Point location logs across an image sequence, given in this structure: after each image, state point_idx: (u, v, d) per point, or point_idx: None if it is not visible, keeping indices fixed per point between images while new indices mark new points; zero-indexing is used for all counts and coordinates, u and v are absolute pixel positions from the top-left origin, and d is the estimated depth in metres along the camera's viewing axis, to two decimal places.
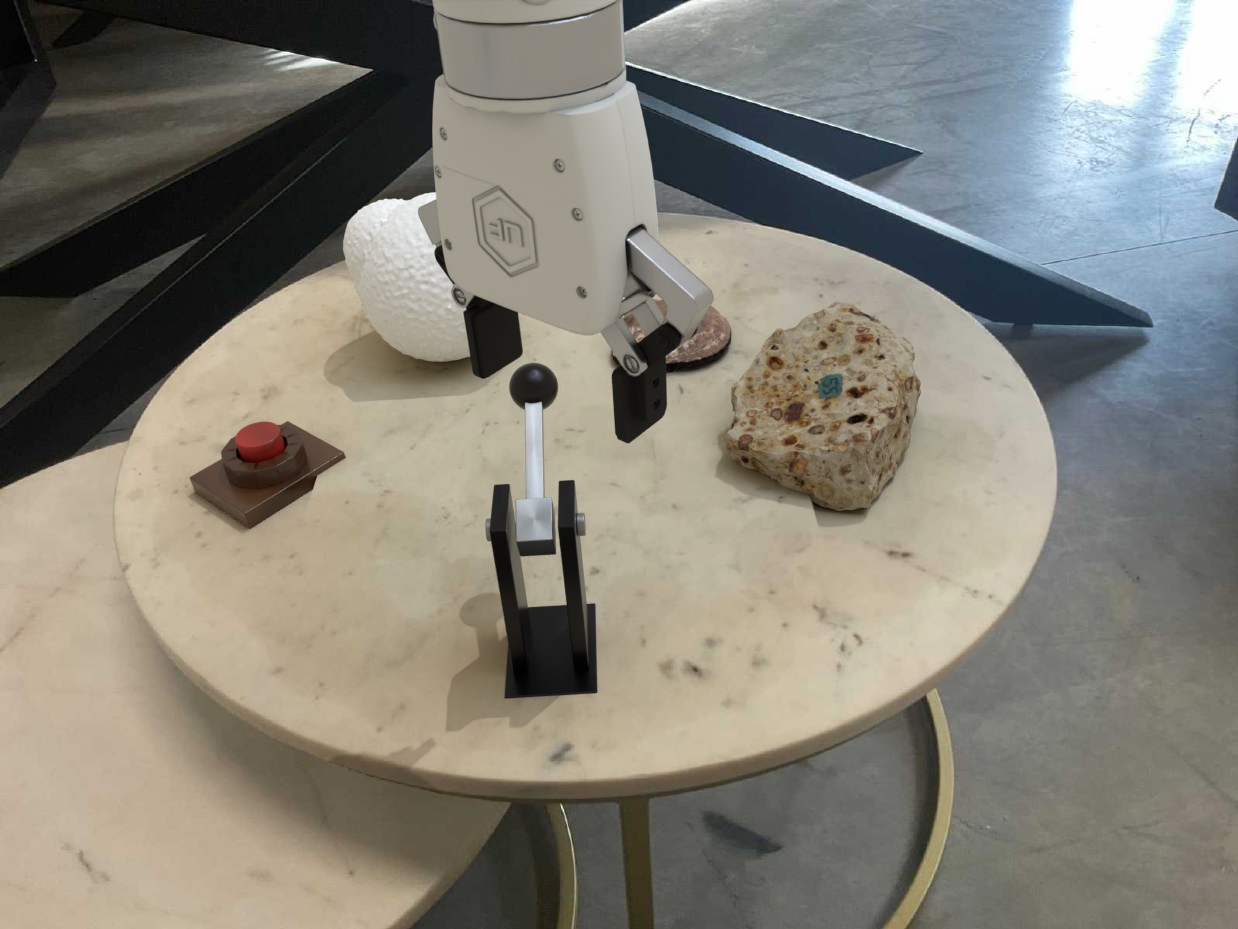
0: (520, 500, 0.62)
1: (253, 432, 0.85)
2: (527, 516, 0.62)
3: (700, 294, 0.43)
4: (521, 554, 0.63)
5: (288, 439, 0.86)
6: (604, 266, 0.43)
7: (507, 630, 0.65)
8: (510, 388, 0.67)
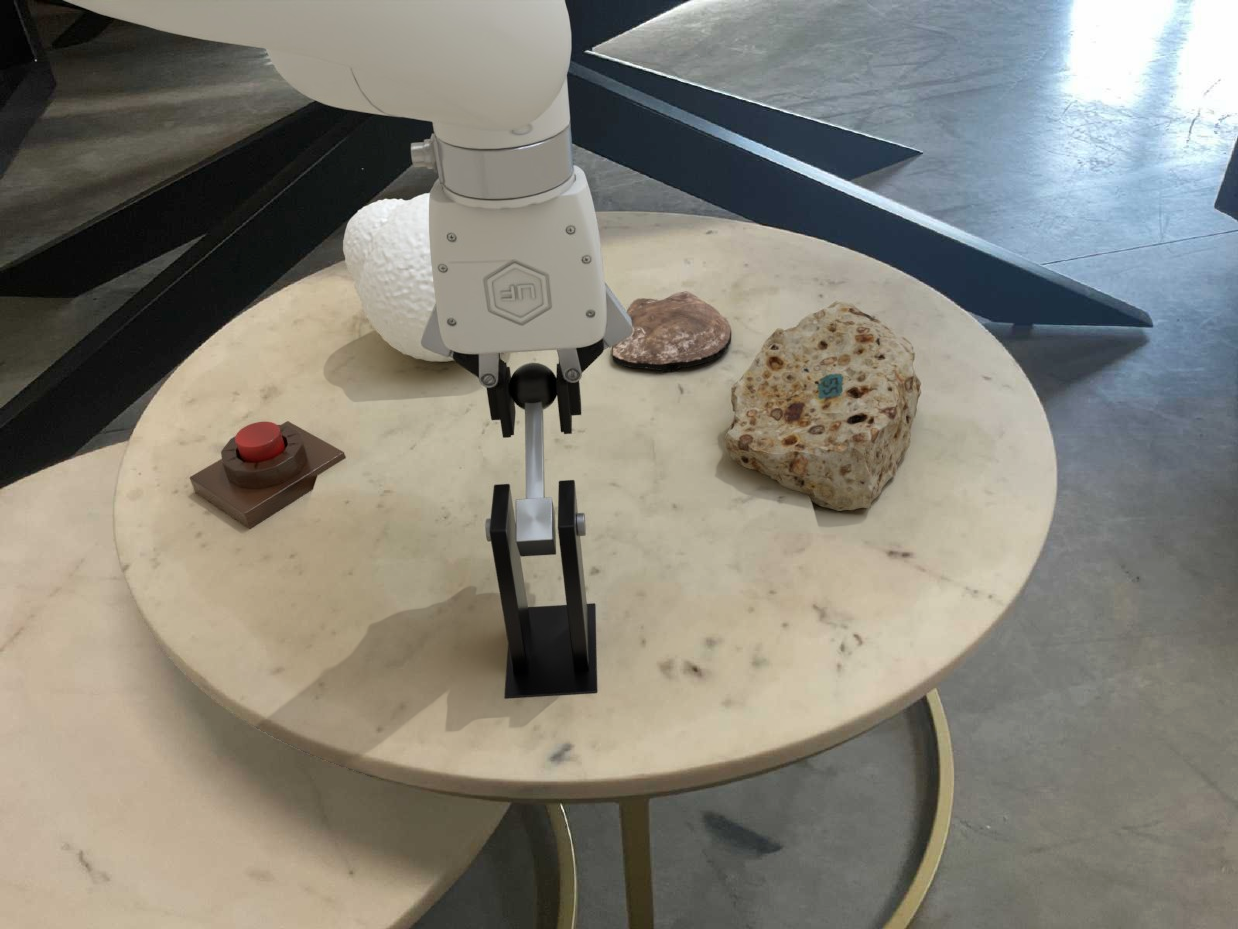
0: (520, 500, 0.62)
1: (253, 432, 0.85)
2: (527, 516, 0.62)
3: (631, 324, 0.65)
4: (521, 554, 0.63)
5: (288, 439, 0.86)
6: (603, 290, 0.61)
7: (507, 630, 0.65)
8: (510, 388, 0.67)
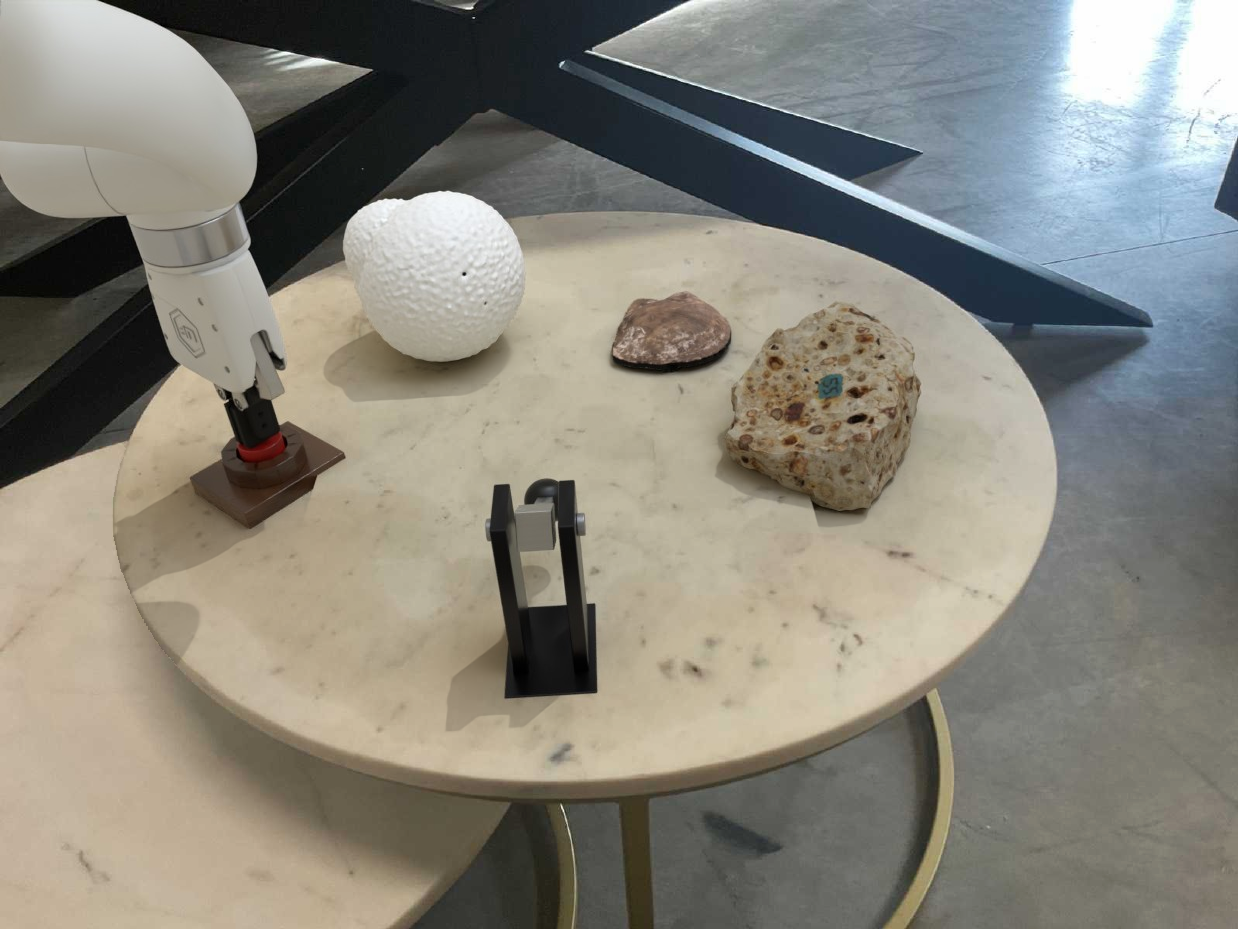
0: (523, 505, 0.64)
1: None
2: (528, 507, 0.63)
3: (277, 392, 0.78)
4: (518, 545, 0.61)
5: (288, 439, 0.86)
6: (236, 356, 0.75)
7: (507, 630, 0.65)
8: (525, 495, 0.72)
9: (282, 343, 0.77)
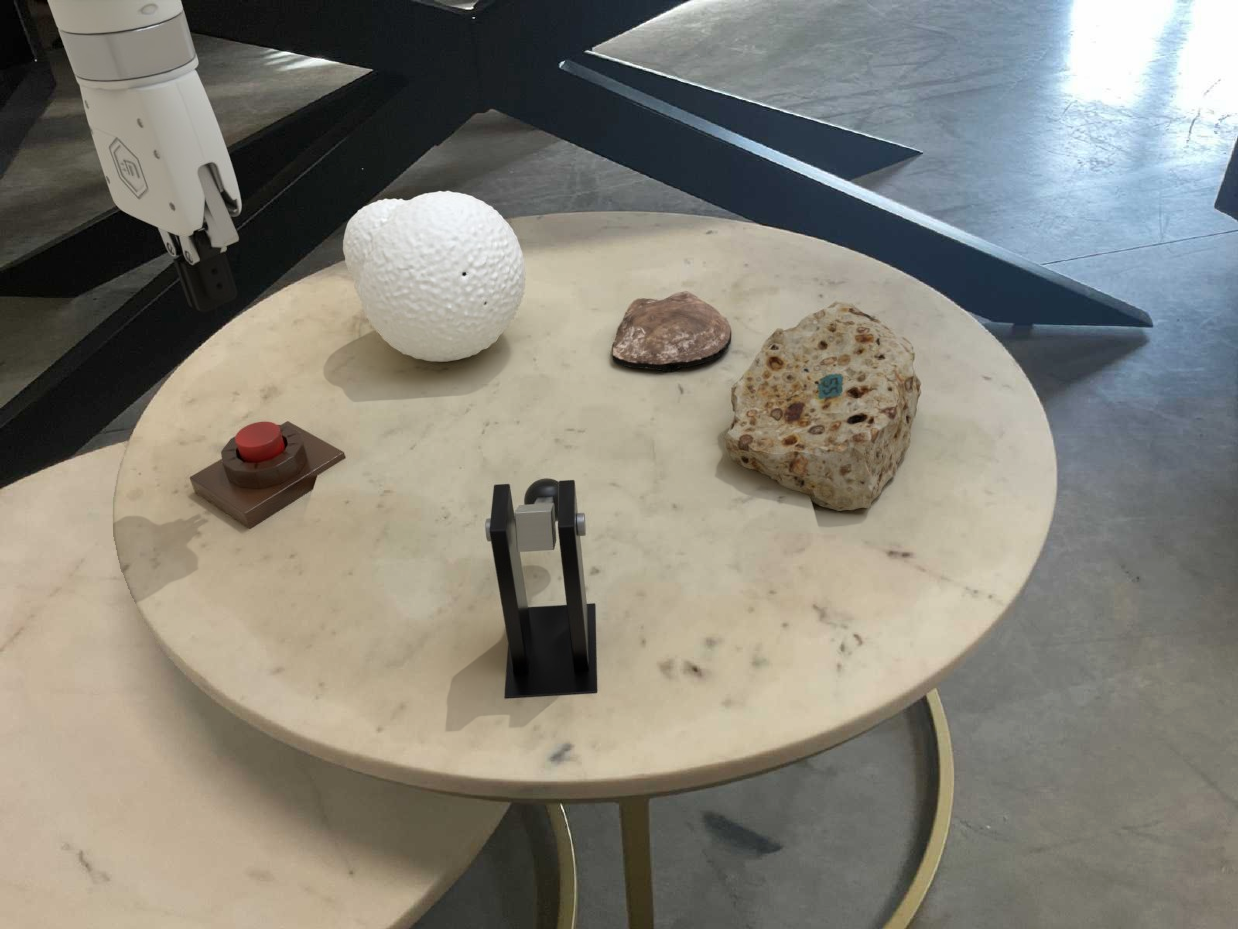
0: (523, 505, 0.64)
1: (253, 432, 0.85)
2: (528, 507, 0.63)
3: (230, 238, 0.70)
4: (518, 545, 0.61)
5: (288, 439, 0.86)
6: (181, 189, 0.67)
7: (507, 630, 0.65)
8: (525, 495, 0.72)
9: (235, 182, 0.70)
